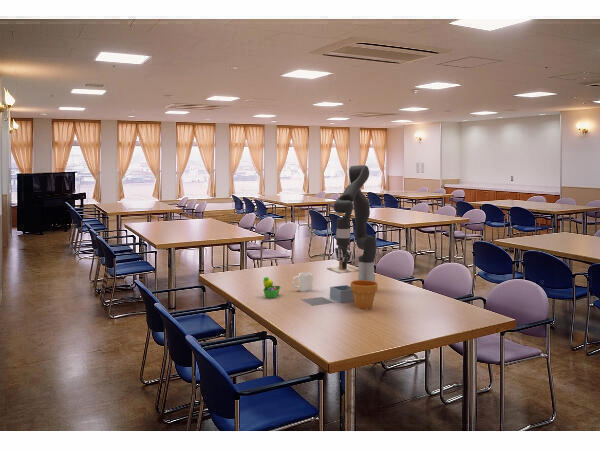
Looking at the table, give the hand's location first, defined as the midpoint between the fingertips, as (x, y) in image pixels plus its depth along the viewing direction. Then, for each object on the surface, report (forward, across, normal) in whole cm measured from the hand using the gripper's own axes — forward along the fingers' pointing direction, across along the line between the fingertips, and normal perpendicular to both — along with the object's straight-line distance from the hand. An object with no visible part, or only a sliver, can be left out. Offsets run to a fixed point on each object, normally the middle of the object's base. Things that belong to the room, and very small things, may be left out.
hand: (342, 267), depth 293 cm
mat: (+18, +2, +15) cm, 24 cm away
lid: (+2, 0, 0) cm, 2 cm away
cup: (+19, +30, +10) cm, 36 cm away
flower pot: (+19, -16, -3) cm, 25 cm away
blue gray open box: (+19, 0, 0) cm, 19 cm away
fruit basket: (+18, +24, +33) cm, 45 cm away
